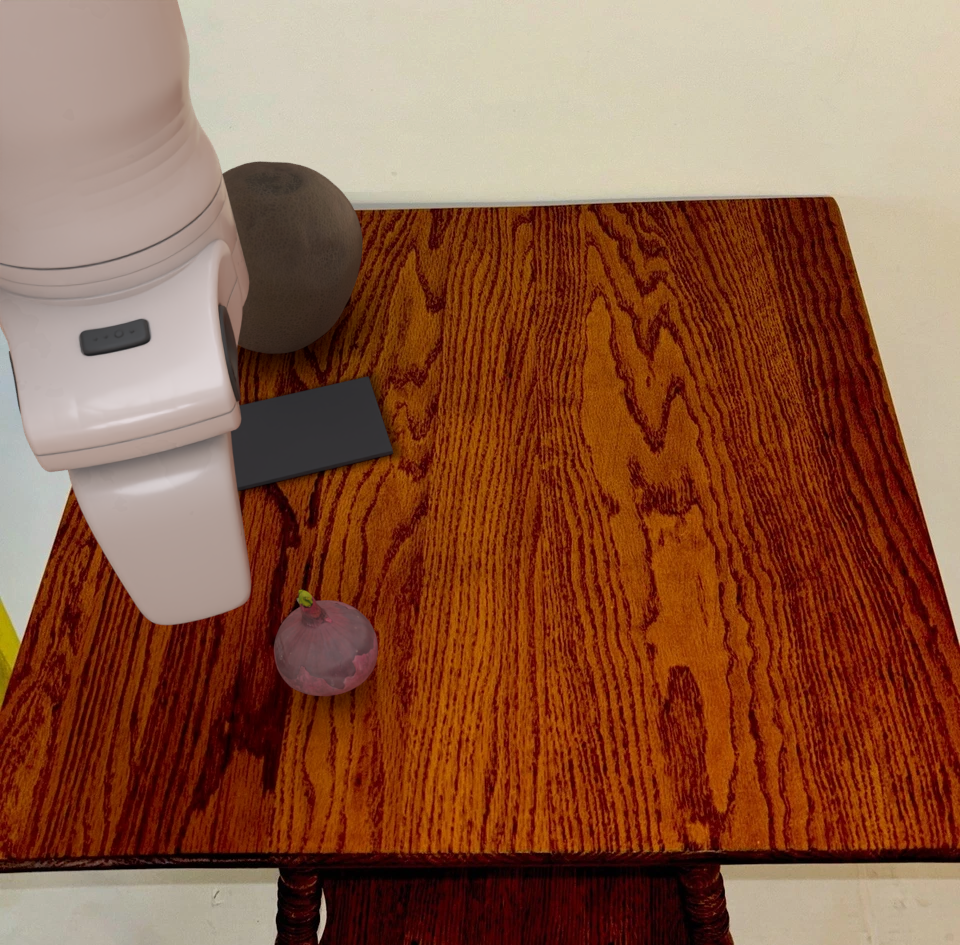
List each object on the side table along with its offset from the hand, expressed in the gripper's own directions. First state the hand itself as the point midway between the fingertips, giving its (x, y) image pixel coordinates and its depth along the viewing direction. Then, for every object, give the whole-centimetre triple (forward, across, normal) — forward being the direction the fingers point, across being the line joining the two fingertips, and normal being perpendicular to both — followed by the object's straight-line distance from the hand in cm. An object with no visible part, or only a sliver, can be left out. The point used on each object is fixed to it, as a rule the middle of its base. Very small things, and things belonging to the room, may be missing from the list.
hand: (210, 515), depth 47 cm
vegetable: (+21, -3, +3) cm, 22 cm away
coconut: (+21, -39, +6) cm, 45 cm away
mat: (+21, -26, +5) cm, 34 cm away
